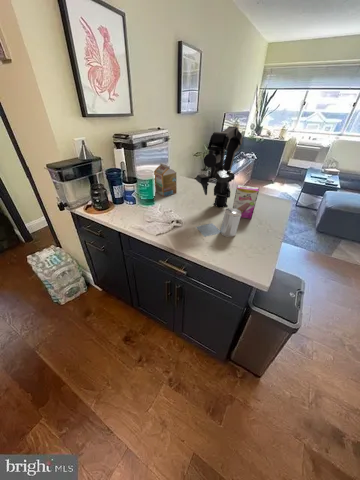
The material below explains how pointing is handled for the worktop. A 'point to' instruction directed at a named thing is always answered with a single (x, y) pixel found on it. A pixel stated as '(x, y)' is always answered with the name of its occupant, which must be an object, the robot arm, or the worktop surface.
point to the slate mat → (208, 229)
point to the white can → (230, 222)
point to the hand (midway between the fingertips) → (213, 193)
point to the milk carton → (165, 180)
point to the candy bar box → (245, 200)
